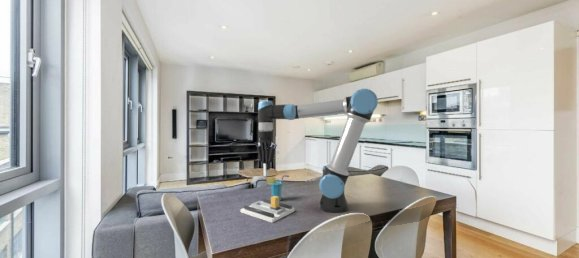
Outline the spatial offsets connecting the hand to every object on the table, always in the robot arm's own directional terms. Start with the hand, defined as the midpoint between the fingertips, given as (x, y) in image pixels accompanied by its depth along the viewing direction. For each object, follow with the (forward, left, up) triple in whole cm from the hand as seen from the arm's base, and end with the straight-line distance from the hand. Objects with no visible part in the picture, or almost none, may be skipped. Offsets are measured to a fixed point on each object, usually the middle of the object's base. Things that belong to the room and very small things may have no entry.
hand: (266, 175), depth 123 cm
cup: (+7, -18, -19) cm, 27 cm away
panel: (-1, 0, -19) cm, 19 cm away
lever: (-6, 0, -17) cm, 18 cm away
